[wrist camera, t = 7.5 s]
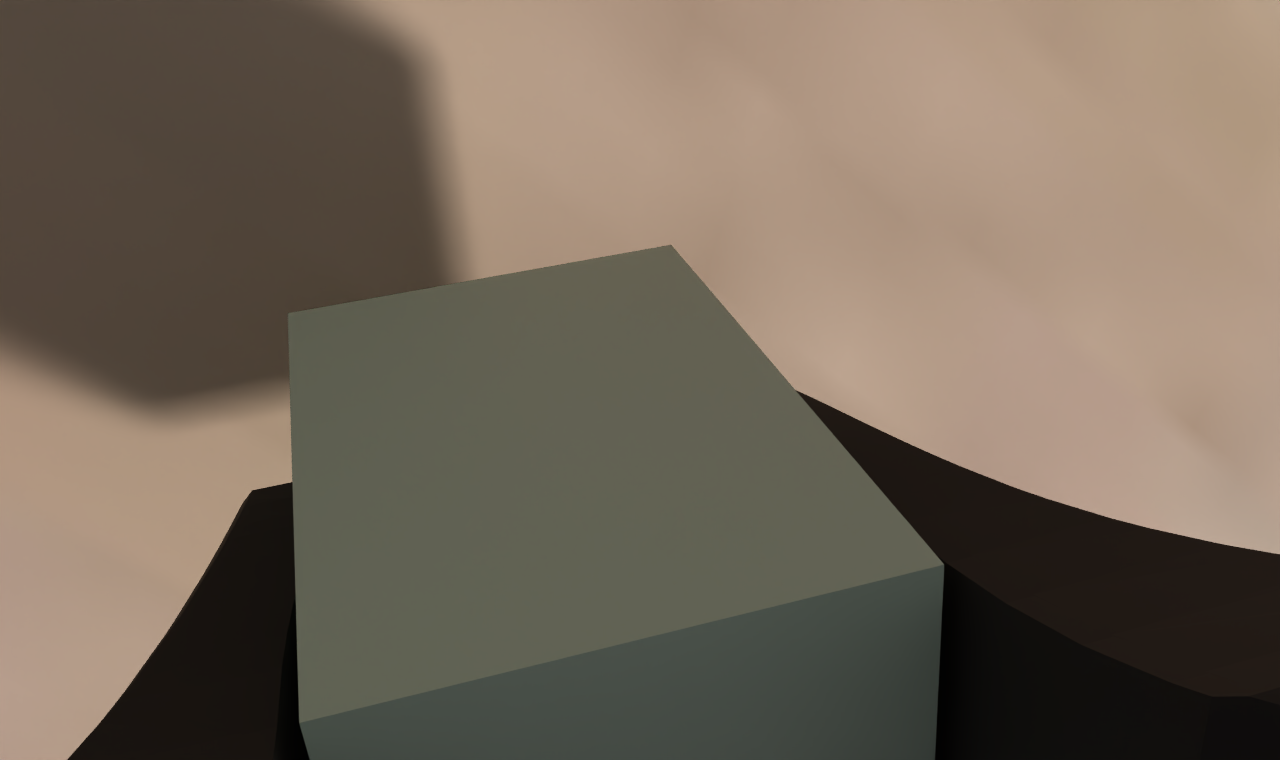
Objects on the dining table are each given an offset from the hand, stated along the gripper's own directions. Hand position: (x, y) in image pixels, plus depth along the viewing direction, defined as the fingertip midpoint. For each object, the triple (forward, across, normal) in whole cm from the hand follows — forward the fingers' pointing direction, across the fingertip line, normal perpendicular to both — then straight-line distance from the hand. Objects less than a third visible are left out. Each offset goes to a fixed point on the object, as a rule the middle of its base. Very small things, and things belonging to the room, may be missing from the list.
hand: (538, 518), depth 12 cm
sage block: (+2, 0, 0) cm, 2 cm away
